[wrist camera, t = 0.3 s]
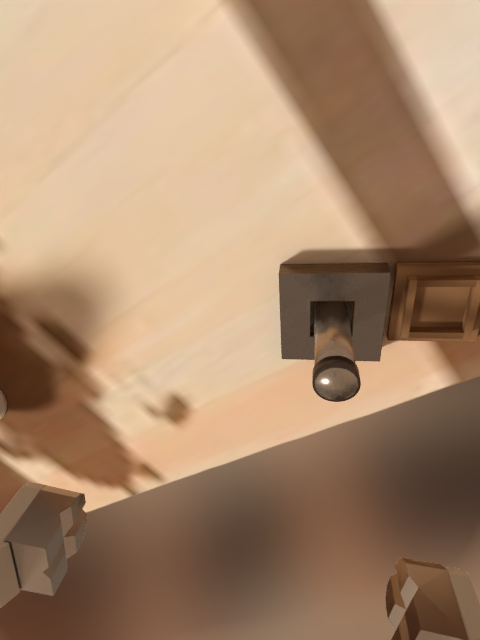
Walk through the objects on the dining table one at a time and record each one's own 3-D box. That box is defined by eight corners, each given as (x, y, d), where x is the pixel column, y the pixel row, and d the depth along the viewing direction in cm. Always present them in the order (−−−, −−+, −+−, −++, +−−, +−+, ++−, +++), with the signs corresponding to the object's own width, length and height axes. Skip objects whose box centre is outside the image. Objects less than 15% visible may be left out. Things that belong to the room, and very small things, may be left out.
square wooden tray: (396, 262, 46) (399, 270, 45) (493, 261, 45) (500, 269, 43) (387, 336, 52) (389, 345, 50) (473, 337, 50) (479, 347, 48)
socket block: (280, 264, 49) (278, 273, 46) (387, 263, 47) (390, 272, 44) (282, 347, 55) (281, 358, 53) (377, 349, 53) (379, 361, 51)
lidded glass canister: (312, 292, 50) (312, 365, 38) (350, 292, 49) (362, 366, 38) (312, 323, 52) (312, 400, 41) (348, 323, 52) (358, 402, 40)
